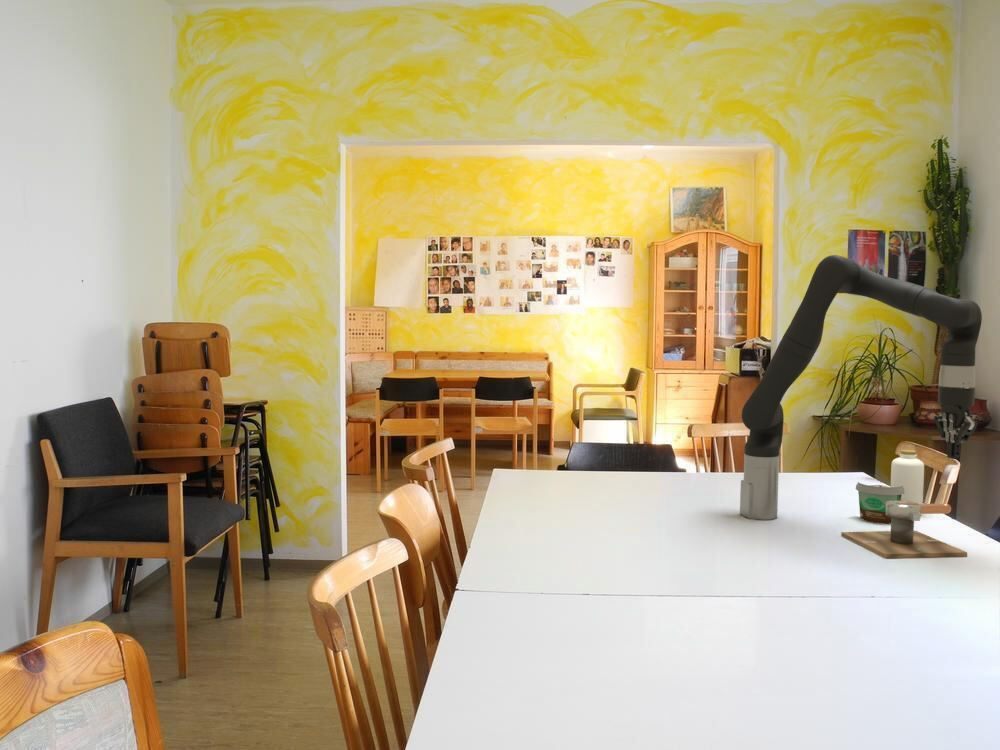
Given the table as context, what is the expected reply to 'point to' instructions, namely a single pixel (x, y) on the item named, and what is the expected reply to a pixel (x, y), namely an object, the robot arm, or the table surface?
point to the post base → (903, 549)
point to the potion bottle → (908, 476)
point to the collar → (913, 509)
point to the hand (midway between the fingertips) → (953, 458)
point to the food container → (877, 501)
